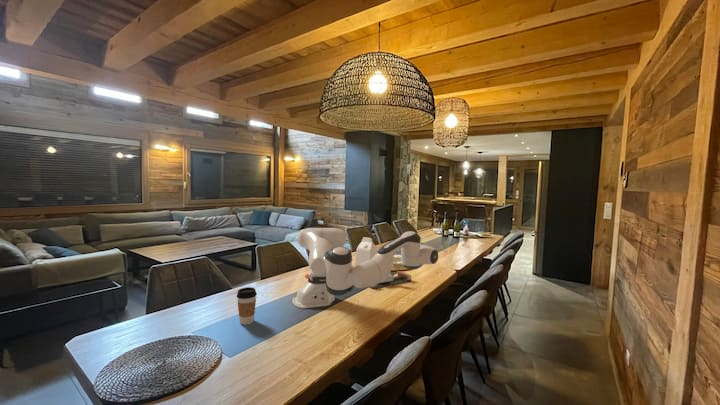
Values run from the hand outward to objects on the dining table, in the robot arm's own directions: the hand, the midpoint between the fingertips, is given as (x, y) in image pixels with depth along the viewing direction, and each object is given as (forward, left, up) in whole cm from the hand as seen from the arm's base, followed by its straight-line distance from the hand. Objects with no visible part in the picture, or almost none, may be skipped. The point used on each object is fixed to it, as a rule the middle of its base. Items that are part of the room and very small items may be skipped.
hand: (397, 245), depth 174 cm
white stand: (+2, +16, -25) cm, 30 cm away
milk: (+2, +35, -28) cm, 45 cm away
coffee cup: (-82, +3, -28) cm, 87 cm away
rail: (+6, +16, -28) cm, 33 cm away
